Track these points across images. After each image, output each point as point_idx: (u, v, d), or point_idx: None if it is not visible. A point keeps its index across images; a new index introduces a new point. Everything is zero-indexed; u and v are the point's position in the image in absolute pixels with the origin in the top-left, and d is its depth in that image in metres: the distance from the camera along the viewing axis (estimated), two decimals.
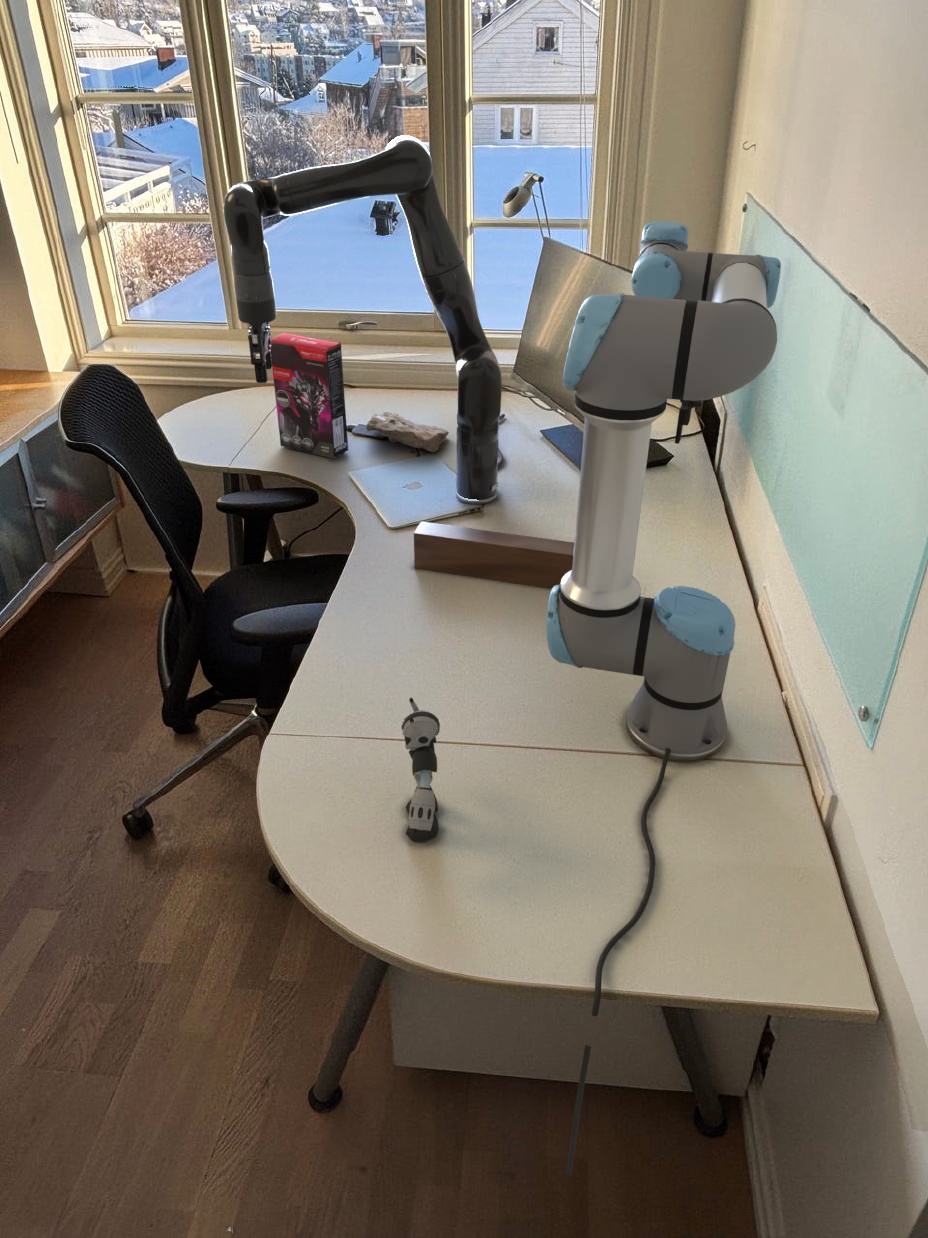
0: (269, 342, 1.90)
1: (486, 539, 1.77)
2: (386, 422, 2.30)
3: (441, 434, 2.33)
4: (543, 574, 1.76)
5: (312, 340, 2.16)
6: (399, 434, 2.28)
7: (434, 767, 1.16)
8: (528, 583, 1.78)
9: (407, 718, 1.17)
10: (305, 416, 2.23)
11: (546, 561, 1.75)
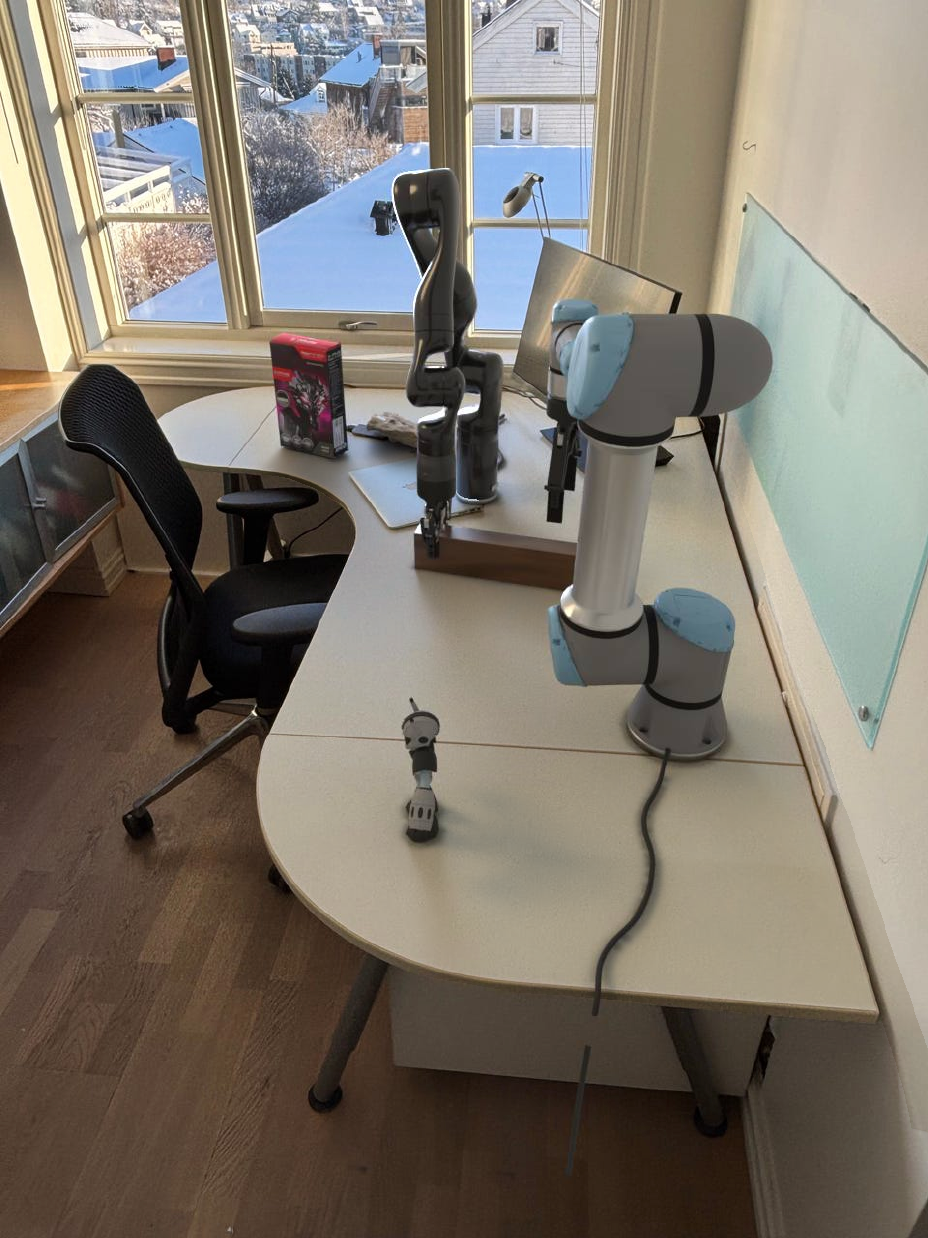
0: (446, 518, 1.80)
1: (485, 539, 1.77)
2: (386, 422, 2.30)
3: None
4: (543, 574, 1.76)
5: (312, 340, 2.16)
6: (399, 434, 2.28)
7: (434, 767, 1.16)
8: (528, 583, 1.78)
9: (407, 718, 1.17)
10: (305, 416, 2.23)
11: (546, 561, 1.75)
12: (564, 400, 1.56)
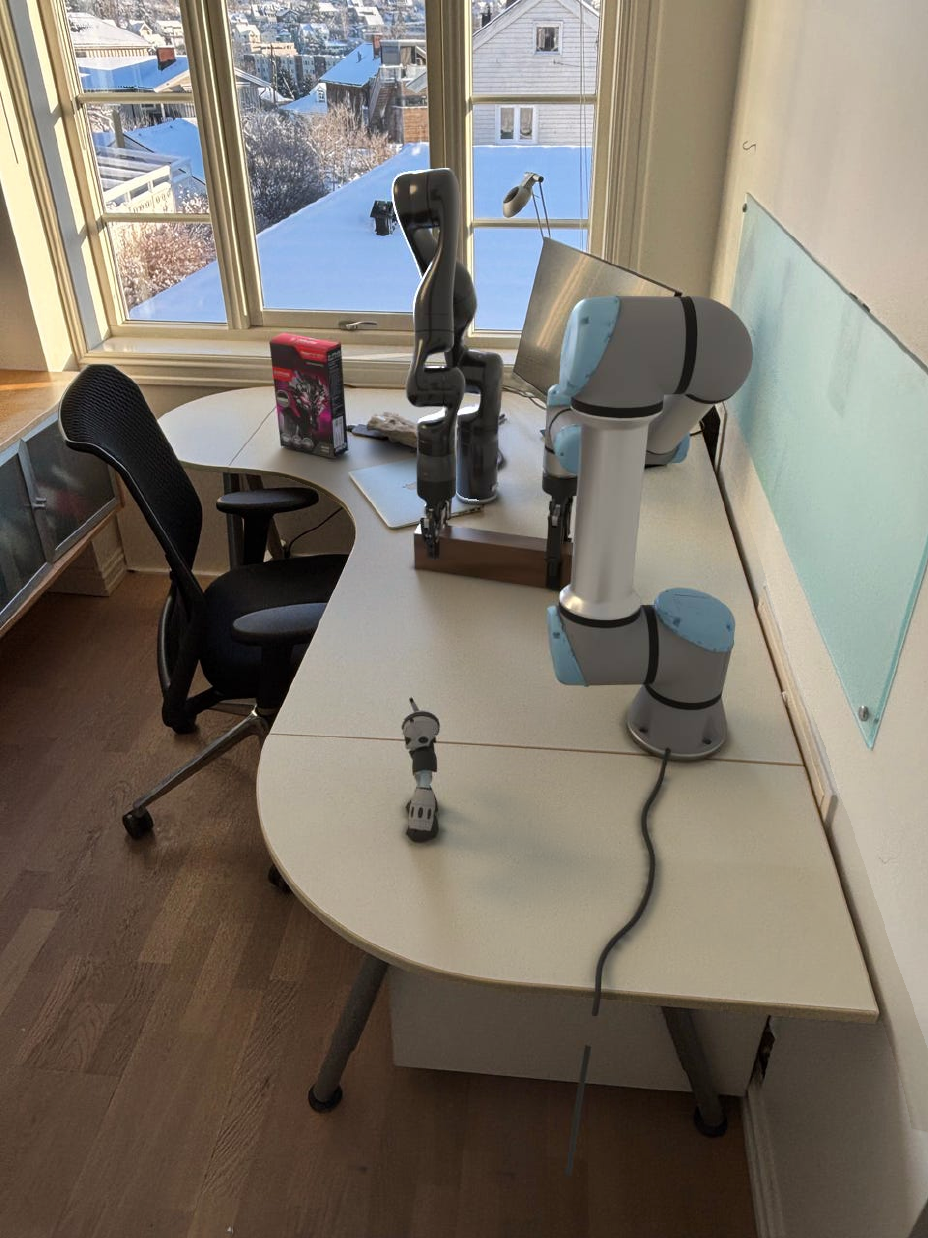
0: (446, 518, 1.80)
1: (485, 539, 1.77)
2: (386, 422, 2.30)
3: None
4: (543, 574, 1.76)
5: (312, 340, 2.16)
6: (399, 434, 2.28)
7: (434, 767, 1.16)
8: (528, 583, 1.78)
9: (407, 718, 1.17)
10: (305, 416, 2.23)
11: None
12: (558, 477, 1.64)
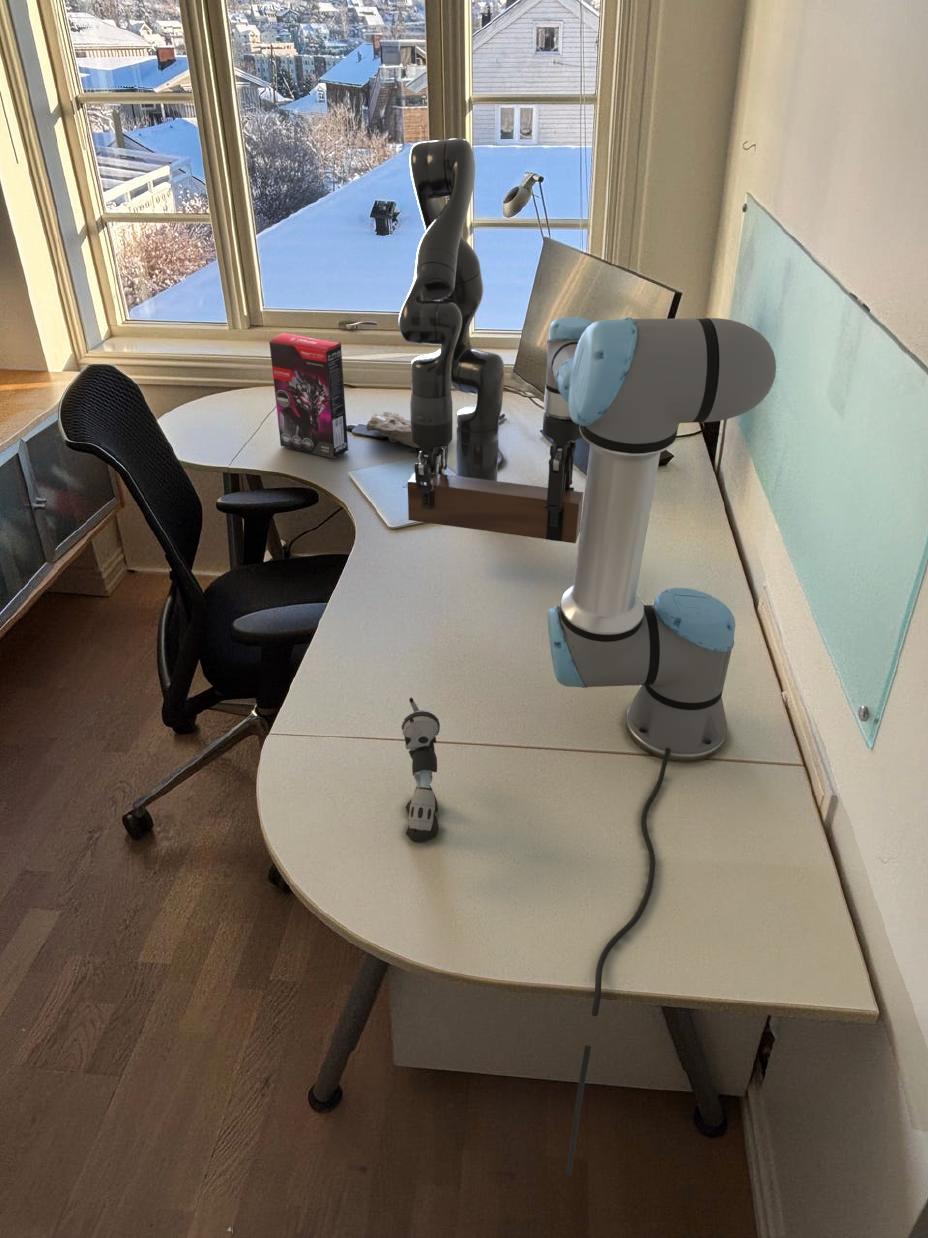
0: (442, 466, 1.72)
1: (483, 488, 1.68)
2: (386, 422, 2.30)
3: None
4: (543, 524, 1.68)
5: (312, 340, 2.16)
6: (399, 434, 2.28)
7: (434, 767, 1.16)
8: (528, 534, 1.69)
9: (407, 718, 1.17)
10: (305, 416, 2.23)
11: (546, 511, 1.66)
12: (560, 418, 1.55)
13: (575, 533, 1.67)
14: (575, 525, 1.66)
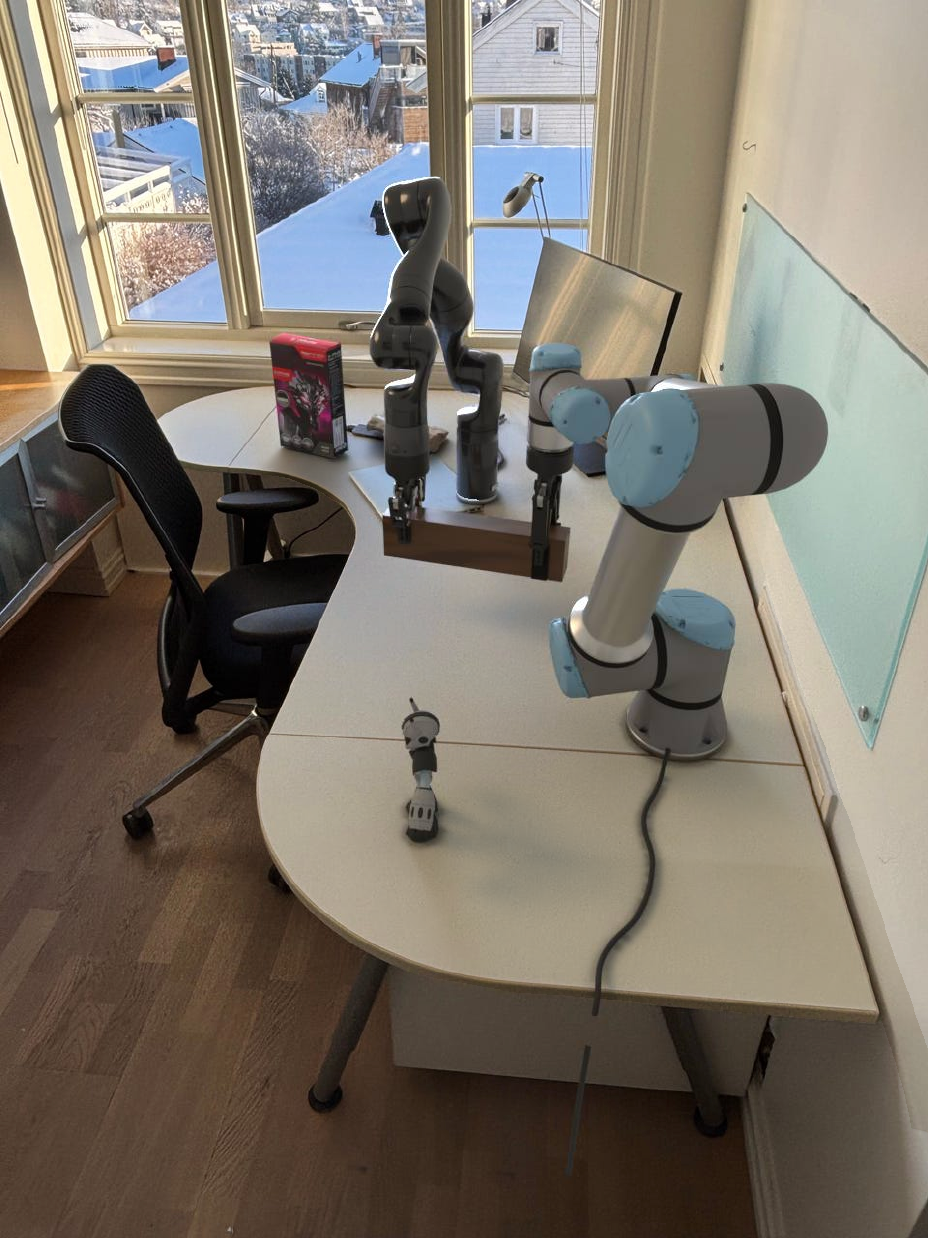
0: (419, 499, 1.60)
1: (463, 523, 1.57)
2: None
3: (441, 434, 2.33)
4: (528, 562, 1.56)
5: (312, 340, 2.16)
6: None
7: (434, 767, 1.16)
8: (511, 572, 1.58)
9: (407, 718, 1.17)
10: (305, 416, 2.23)
11: None
12: (544, 451, 1.44)
13: (561, 571, 1.55)
14: (561, 563, 1.55)
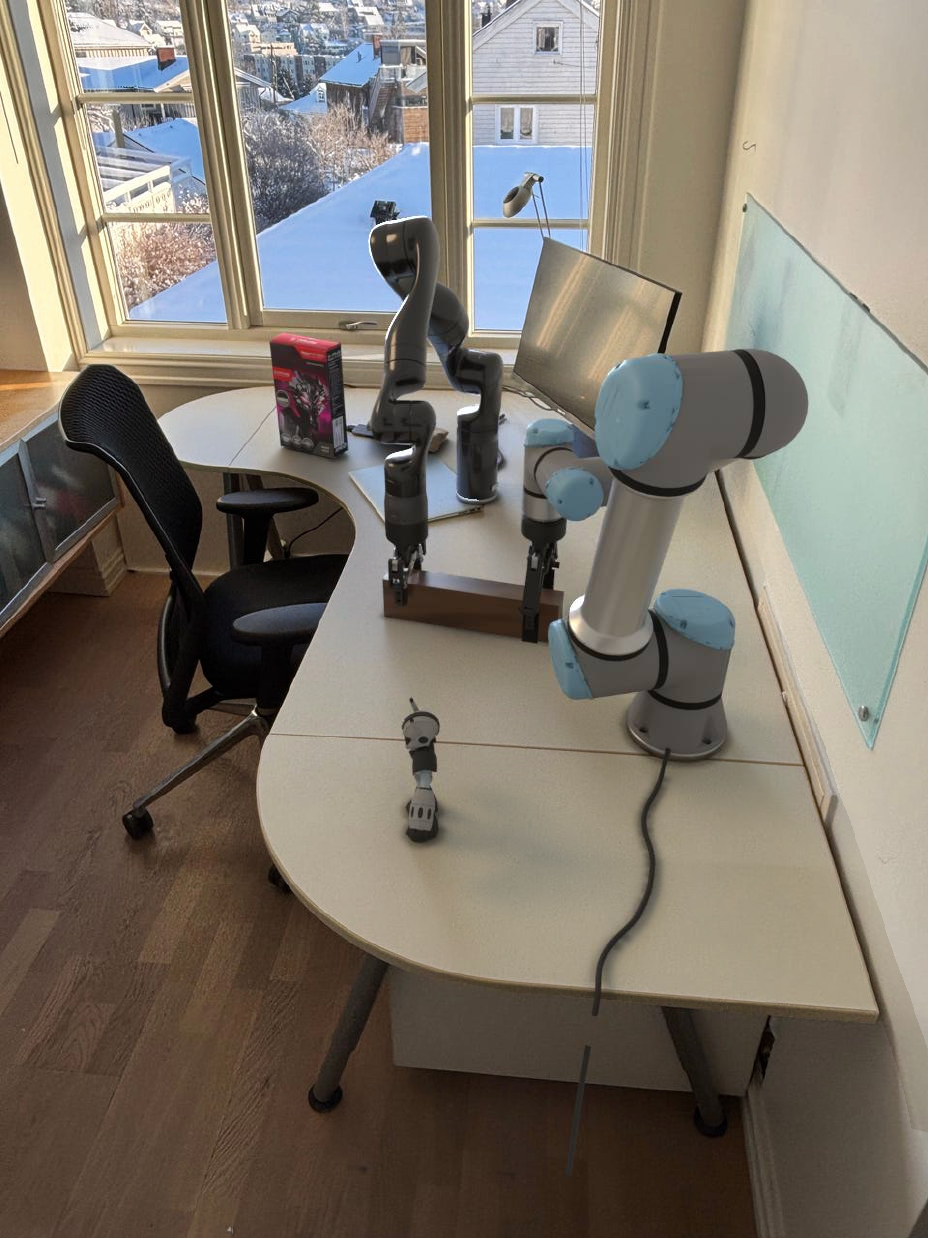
0: (420, 557, 1.66)
1: (460, 587, 1.63)
2: None
3: (441, 434, 2.33)
4: None
5: (312, 340, 2.16)
6: None
7: (434, 767, 1.16)
8: (507, 634, 1.64)
9: (407, 718, 1.17)
10: (305, 416, 2.23)
11: None
12: (538, 521, 1.49)
13: None
14: None
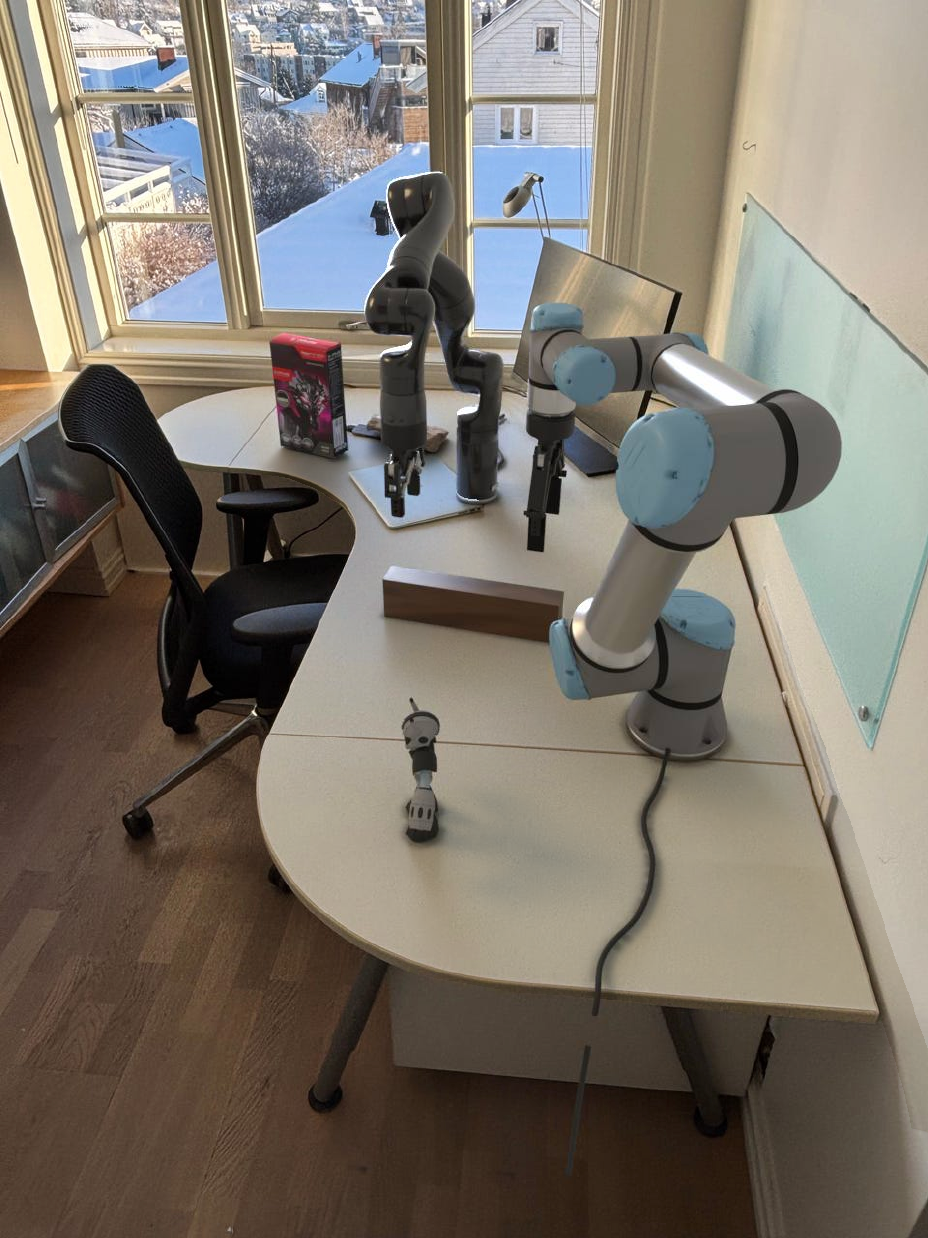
0: (418, 467, 1.57)
1: (460, 587, 1.63)
2: None
3: (441, 434, 2.33)
4: (523, 625, 1.62)
5: (312, 340, 2.16)
6: None
7: (434, 767, 1.16)
8: (507, 634, 1.64)
9: (407, 718, 1.17)
10: (305, 416, 2.23)
11: (525, 612, 1.60)
12: (545, 416, 1.39)
13: None
14: None
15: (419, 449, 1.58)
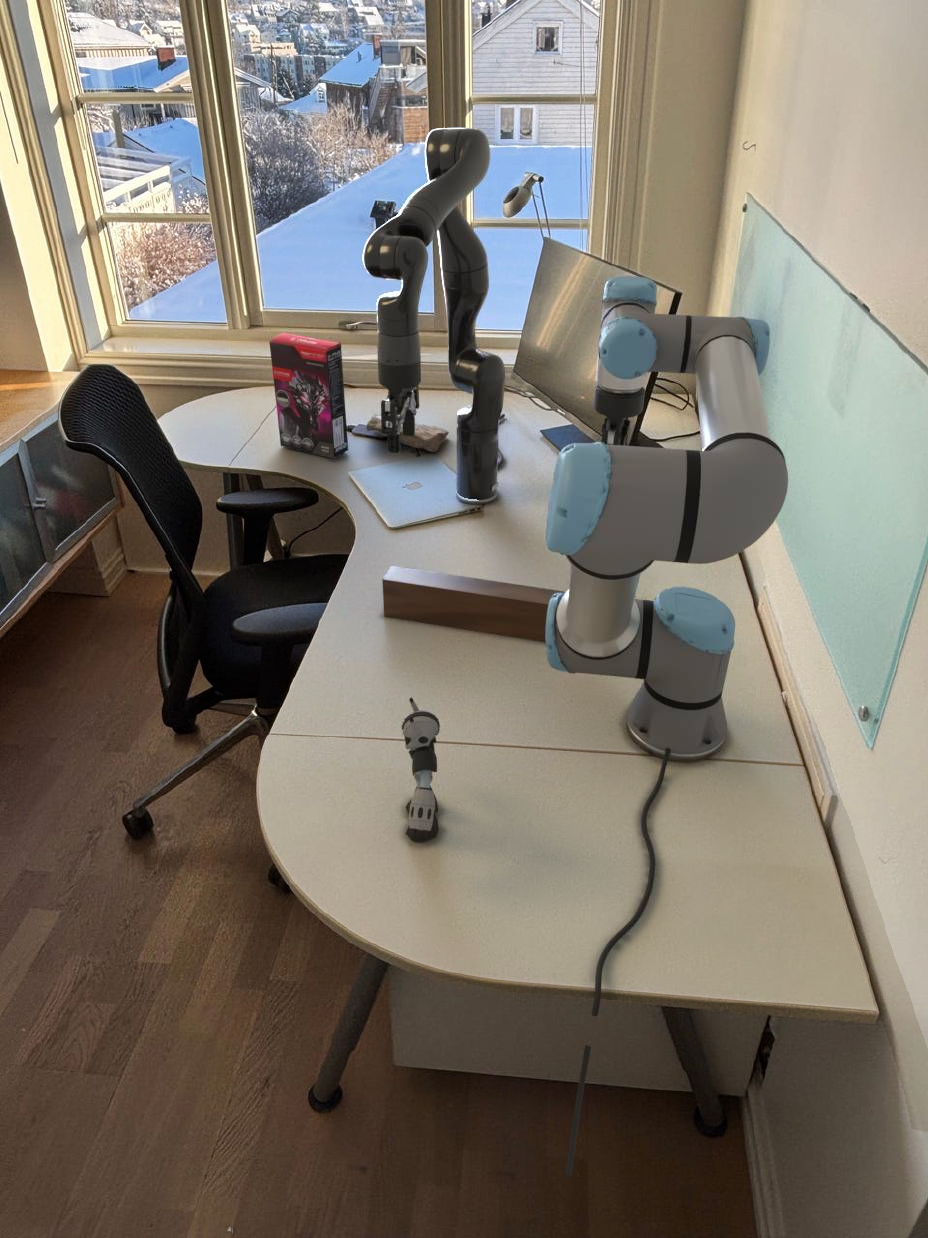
0: (412, 408, 1.68)
1: (460, 587, 1.63)
2: None
3: (441, 434, 2.33)
4: (523, 625, 1.62)
5: (312, 340, 2.16)
6: None
7: (434, 767, 1.16)
8: (507, 634, 1.64)
9: (407, 718, 1.17)
10: (305, 416, 2.23)
11: (525, 612, 1.60)
12: (615, 392, 1.36)
13: None
14: None
15: (414, 391, 1.70)
